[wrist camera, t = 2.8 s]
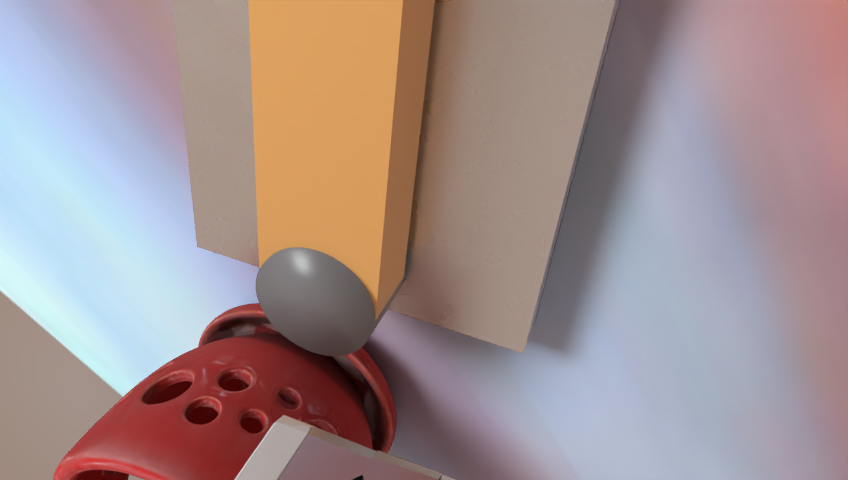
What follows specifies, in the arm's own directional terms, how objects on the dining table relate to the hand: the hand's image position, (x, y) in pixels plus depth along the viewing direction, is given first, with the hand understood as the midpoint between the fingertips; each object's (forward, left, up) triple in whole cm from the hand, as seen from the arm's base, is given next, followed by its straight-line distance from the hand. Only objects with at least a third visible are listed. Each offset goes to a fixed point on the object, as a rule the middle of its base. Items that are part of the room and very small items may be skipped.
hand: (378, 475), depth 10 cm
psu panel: (+7, +4, -19) cm, 20 cm away
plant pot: (+11, +21, -19) cm, 30 cm away
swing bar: (+7, +4, -16) cm, 18 cm away
